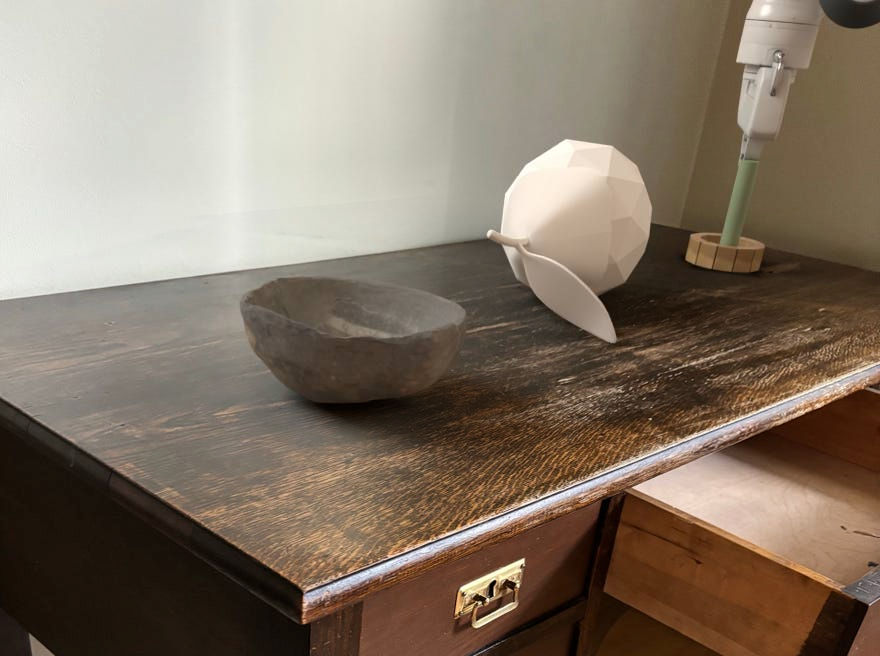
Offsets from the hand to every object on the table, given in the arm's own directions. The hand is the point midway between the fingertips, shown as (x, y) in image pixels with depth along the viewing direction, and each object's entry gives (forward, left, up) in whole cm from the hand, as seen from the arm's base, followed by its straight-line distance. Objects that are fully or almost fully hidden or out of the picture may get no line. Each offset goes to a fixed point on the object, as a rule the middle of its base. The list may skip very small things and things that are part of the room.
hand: (745, 171), depth 128 cm
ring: (0, +3, -11) cm, 12 cm away
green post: (0, +4, -12) cm, 13 cm away
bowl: (+34, +72, -12) cm, 81 cm away
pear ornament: (+20, +35, -12) cm, 43 cm away
